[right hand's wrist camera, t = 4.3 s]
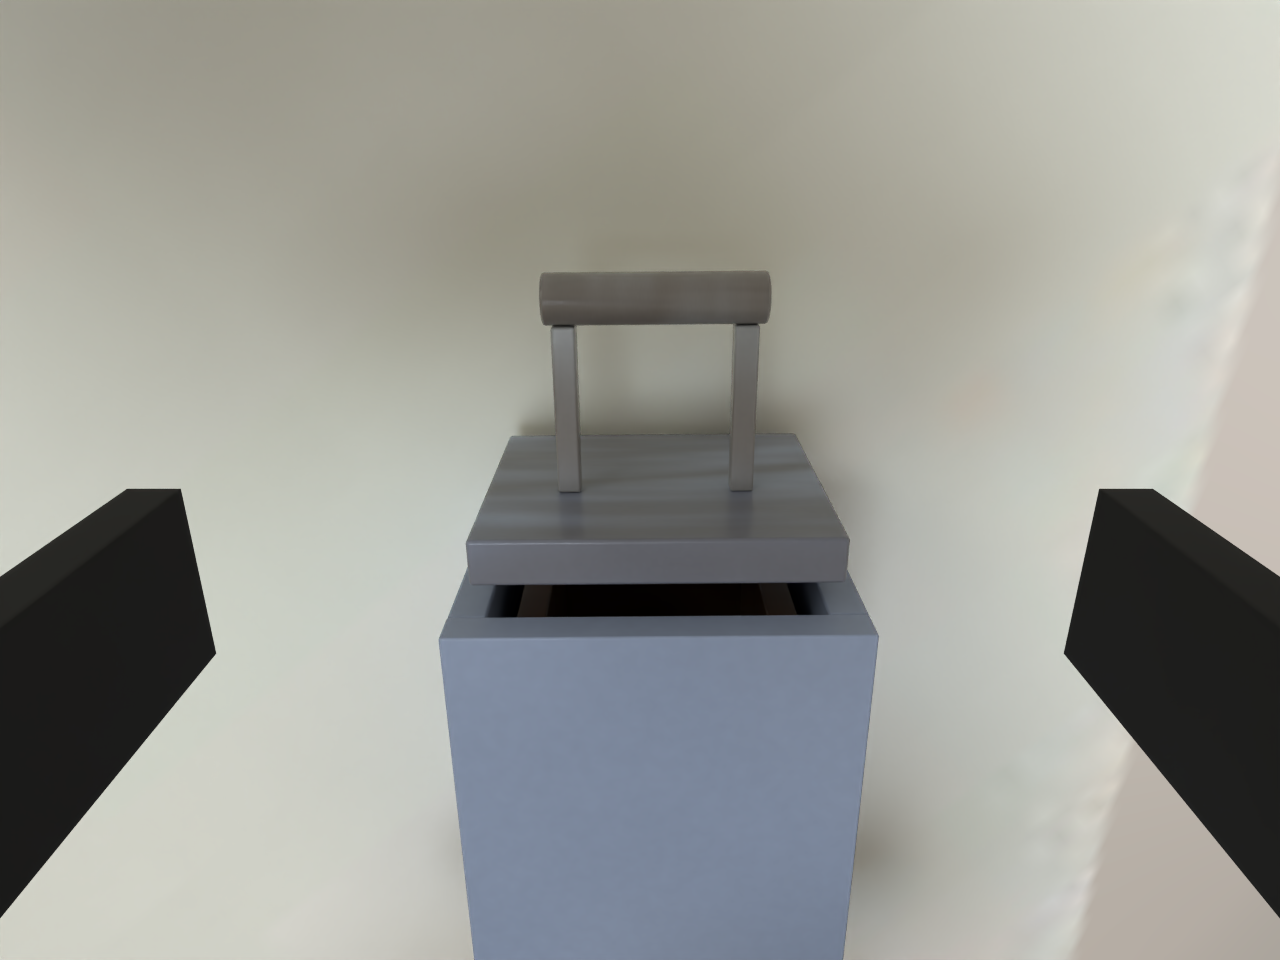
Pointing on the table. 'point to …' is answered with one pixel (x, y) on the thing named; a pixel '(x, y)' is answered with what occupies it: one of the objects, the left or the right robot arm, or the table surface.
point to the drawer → (656, 479)
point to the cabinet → (658, 777)
